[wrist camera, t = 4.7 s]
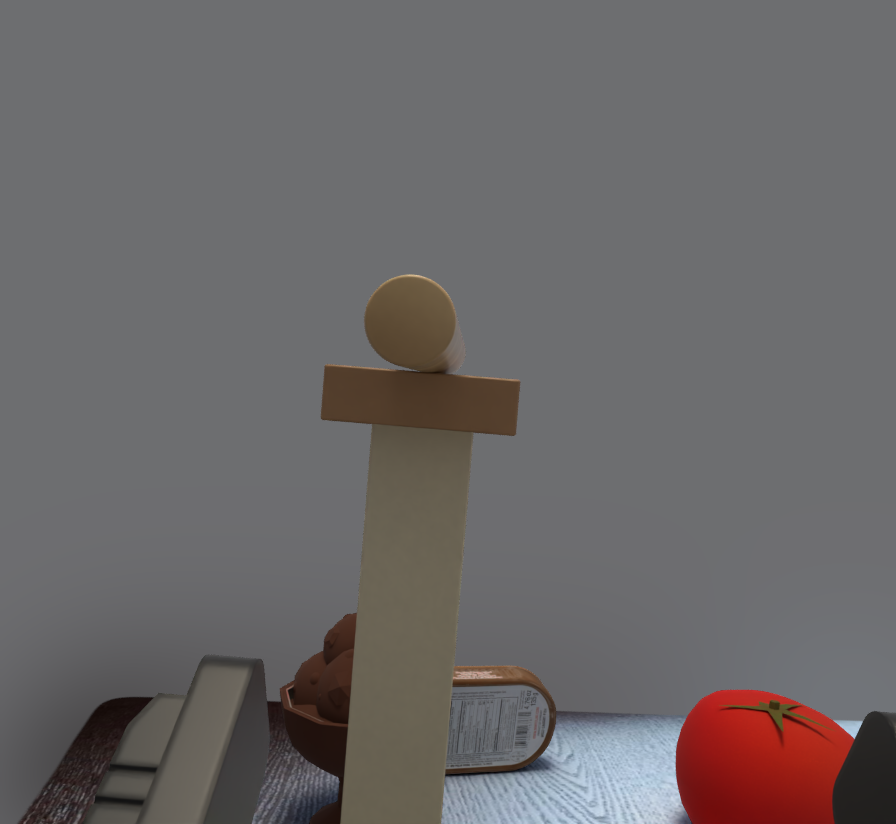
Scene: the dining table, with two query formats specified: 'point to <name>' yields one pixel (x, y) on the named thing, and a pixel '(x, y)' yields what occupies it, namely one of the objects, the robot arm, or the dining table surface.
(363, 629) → the stand
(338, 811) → the ice cream bowl
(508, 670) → the tin
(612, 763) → the dining table surface
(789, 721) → the tomato
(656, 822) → the dining table surface
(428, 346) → the wooden rod
